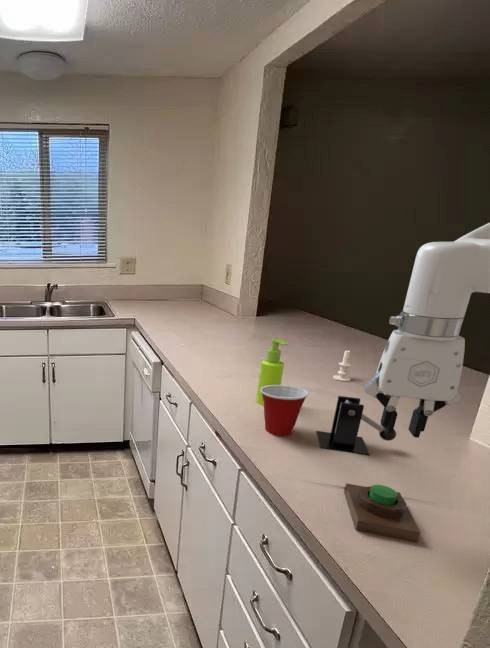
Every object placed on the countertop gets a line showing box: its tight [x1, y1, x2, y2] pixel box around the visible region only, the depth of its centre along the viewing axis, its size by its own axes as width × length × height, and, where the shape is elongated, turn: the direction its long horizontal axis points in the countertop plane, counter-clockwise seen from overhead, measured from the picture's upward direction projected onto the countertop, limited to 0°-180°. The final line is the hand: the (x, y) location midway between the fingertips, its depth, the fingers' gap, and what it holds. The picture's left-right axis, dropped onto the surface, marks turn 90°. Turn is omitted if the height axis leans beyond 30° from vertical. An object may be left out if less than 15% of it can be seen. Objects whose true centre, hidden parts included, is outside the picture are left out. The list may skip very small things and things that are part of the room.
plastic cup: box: [260, 384, 309, 437], centre depth 108 cm, size 11×11×12 cm
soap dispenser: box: [255, 337, 289, 407], centre depth 123 cm, size 6×7×20 cm
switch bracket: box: [315, 395, 371, 457], centre depth 101 cm, size 10×9×12 cm
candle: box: [332, 349, 352, 383], centre depth 145 cm, size 5×5×10 cm
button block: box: [343, 482, 421, 544], centre depth 78 cm, size 12×9×4 cm
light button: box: [369, 484, 398, 505], centre depth 77 cm, size 4×4×2 cm
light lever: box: [344, 399, 397, 442], centre depth 99 cm, size 13×3×3 cm, turn 69°
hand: (400, 431), depth 73 cm, fingers open, 3 cm apart
